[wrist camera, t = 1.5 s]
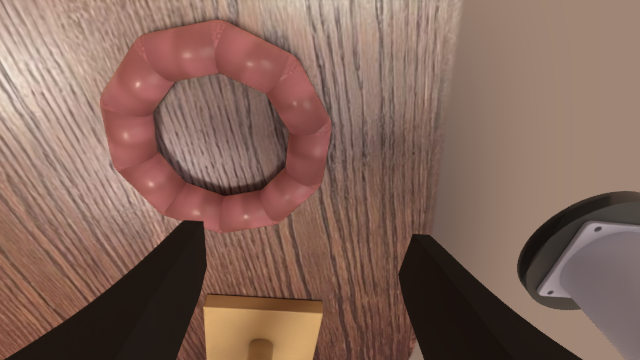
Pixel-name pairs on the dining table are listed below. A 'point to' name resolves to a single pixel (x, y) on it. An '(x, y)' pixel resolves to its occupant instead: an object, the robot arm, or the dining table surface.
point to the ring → (200, 60)
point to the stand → (260, 328)
